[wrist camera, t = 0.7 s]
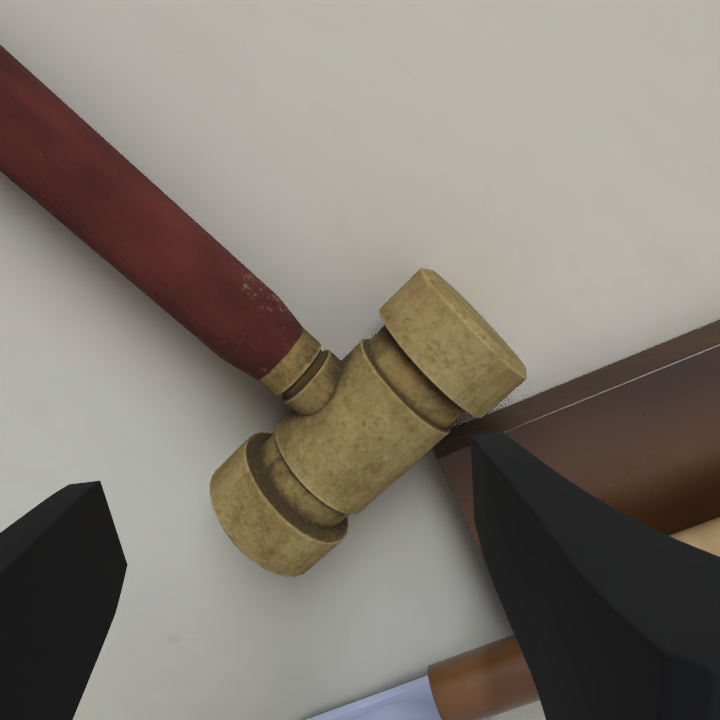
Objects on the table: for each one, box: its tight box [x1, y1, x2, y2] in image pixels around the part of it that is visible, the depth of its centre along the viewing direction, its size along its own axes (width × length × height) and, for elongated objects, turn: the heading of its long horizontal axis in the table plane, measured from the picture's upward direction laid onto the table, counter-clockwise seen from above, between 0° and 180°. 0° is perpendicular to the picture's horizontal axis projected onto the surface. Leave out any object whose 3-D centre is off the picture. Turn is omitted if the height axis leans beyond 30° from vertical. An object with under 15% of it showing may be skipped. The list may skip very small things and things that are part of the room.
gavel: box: [0, 45, 527, 577], centre depth 18 cm, size 21×5×10 cm
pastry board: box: [433, 320, 720, 572], centre depth 24 cm, size 12×14×2 cm
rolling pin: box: [428, 517, 720, 720], centre depth 22 cm, size 5×21×5 cm, turn 114°
